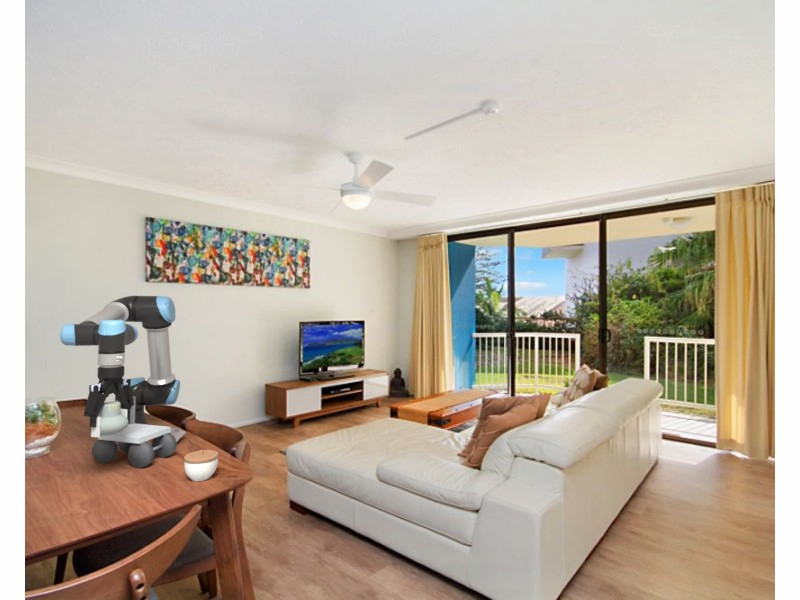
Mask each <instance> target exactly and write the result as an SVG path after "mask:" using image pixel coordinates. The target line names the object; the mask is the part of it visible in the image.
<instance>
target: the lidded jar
mask: <svg viewBox="0 0 800 600" xmlns="http://www.w3.org/2000/svg"><path fill="white" fill-rule="evenodd" d="M219 454H220V453H219V451H217V450H213V449H200V450H195V451H191V452H189V453H187V454H185V455H184V457H183V461H184V462H183V464H184V465H183V466H184V467H183V468H184V472H185V474H186V476H187V477H188V478H189V479H190V481H193V482H203V481H206V480H209V479H210V478H211V477H212V476H213V474H214V473H215V472H216V470H217V467H218V464H219Z"/></svg>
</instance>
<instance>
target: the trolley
mask: <svg viewBox="0 0 800 600" xmlns="http://www.w3.org/2000/svg"><path fill="white" fill-rule="evenodd" d="M133 400H134V405H133V406H132V408H131V409H130V424H128V426H127V428H126V429H124V430H123V431H121V432H119V433H116V434H112V435H104V436H101V435H100V437H97V439H96V440H95V441H94V443H93V444H92V447H91V454H92V457H93V459H94V460H95V461H96V462H97V463H99V464H103V465H104V464H107V463H109V462H110V463H111V462H112V461H113V460H115V459H116V457H117V455H118V451H119V450H120V451H121V453H124V454H126V455H127V457H128V462H129V464H130V465H132V467H133V468H137V469H142V468H145V467H146V466H149V465H150V464H152V462H153V460H154V458H155V456H157V457H159V458H162V459H163V458H166V457H169V456H171V455H173V454H174V453H175V452H176V449H177V442H176V440H175V438H174V436H173V435H172V434H170V433H169V432H171V428H172V426H165V425H156V424H148V425H146V424H136V423H135V400H136V397H135V396H133ZM114 401H115V400H113V401H111V402H114ZM115 402H118V400H116V401H115ZM153 438H154V439H153ZM150 440H152V442H151V443H149V441H150ZM118 448H119V449H118Z"/></svg>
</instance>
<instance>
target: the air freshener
mask: <svg viewBox="0 0 800 600" xmlns="http://www.w3.org/2000/svg"><path fill="white" fill-rule="evenodd" d="M113 401H114V402H112V401H105V402H104V404H103V406H102V408H101V410H100V413H99V415H98V417H100V435H101V436H104V435H112V434H116V433H119V432H121V431H123V430H124V429H125V428H126V427H127V426H128V419H127V417H126V416H124V415H122V414H120V410H121V403H120V402H115V400H113Z"/></svg>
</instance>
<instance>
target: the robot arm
mask: <svg viewBox="0 0 800 600" xmlns="http://www.w3.org/2000/svg"><path fill="white" fill-rule="evenodd" d="M174 303H175V302H174V301H173V299H172V298H171V297H169V296H163V295H128V296H124V297H119V298H117V299H115V300H112V301H110V302H109V303H107V304H106V305H105V306H104V307H103V309H102V310H101V311H98V312H97V313H94V314H93V315H92V316H90V317H88V318H86V319H85V320H83V321H82V322H80V323H78V324H77V323H72V324H71V323H68V324H64V325H63V326H62V328H61V329H60V334H59V338H60V341H61V343H62V344H63V345H64V346H74V347H77V346H79V347H81V346H88V347H89V346H90V347H91V346H93V347H94V346H97V347H98V349H97V365H98V367H97V379H98V383H97V384H90V385H89V386H88V390H89V393H88V396H87V400H86V404H85V408H84V412H83V417H88V418H89V428H90V429H91V430H90V437H91V438H98V437H100V417H99V413H100V410H101V408H102V406H103V404H104V403H105V402H106V400H107V398H109V396H110V395H112V394H114V401H116V400H118V402H120V403H121V410H120V414H122V415H124V416H126V417H127V419H128V424H130V409H131V408H132V406H133V405H134V400H133V396H135V397H136V400H135V423H136V424H146V425H149V422H148V421H149V420H147V416H146V413H145V406H146V407H147V406H148V407H149V406H166V405H167V406H168V405H171V406H172V405H174V404H176V402H177V401H178V397H179V394H180V387H181V381H180V379H176V375H175V374H174V373H172V363H171V362H172V361H171V348H170V335H169V328H170V327H171V326H172V323H174V322H175V320H176V316H177V315H176V313H177V312H176V306H175V304H174ZM128 322H129V323H141V326H142V328H143V329H144V330H146V338H147V349H148V359H149V360H148V361H149V370H150V371H149V372H150V375H149V377H147V380H146V378H145V377H142V376H139V377H133V378H132V377H131V378H124V376H125V366H124V365H125V360H126V357H125V356H126V346H128V345H131V344H133V343H134V342H135V341H136V340H137V339H138V335H139V332H138V331H139V330H138V329H137V328H136V326H135V325H134V324H133V325H132V324H129V323H128ZM126 428H127V427H126ZM126 428H125V429H126Z"/></svg>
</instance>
